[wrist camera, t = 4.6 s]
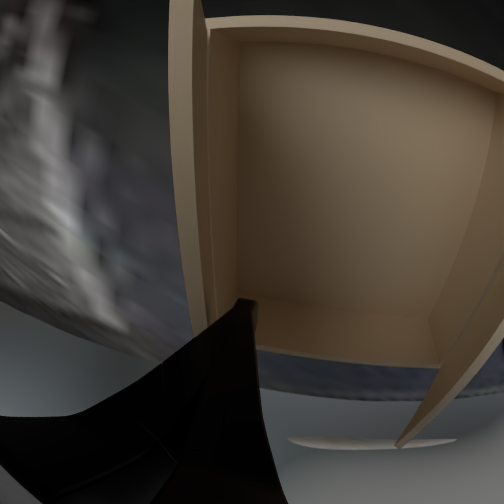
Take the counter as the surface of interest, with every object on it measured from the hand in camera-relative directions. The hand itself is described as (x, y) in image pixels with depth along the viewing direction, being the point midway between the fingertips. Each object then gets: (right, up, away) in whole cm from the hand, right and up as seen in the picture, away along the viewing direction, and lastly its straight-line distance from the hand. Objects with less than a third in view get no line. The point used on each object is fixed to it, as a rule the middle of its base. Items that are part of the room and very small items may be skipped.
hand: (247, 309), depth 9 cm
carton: (+7, +5, +8) cm, 11 cm away
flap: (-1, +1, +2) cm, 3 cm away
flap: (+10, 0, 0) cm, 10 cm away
